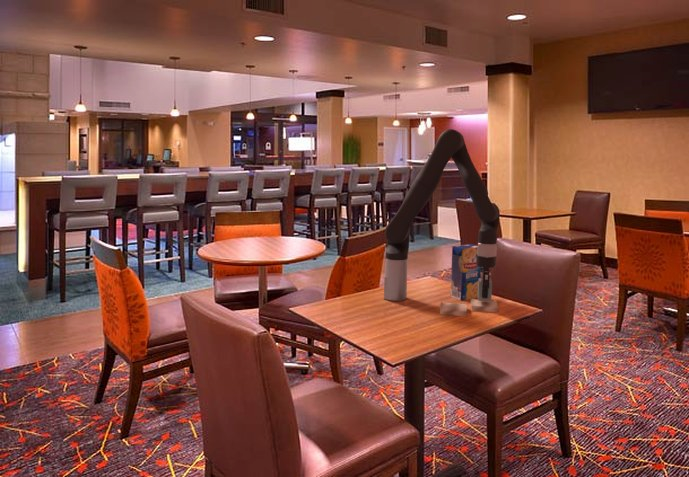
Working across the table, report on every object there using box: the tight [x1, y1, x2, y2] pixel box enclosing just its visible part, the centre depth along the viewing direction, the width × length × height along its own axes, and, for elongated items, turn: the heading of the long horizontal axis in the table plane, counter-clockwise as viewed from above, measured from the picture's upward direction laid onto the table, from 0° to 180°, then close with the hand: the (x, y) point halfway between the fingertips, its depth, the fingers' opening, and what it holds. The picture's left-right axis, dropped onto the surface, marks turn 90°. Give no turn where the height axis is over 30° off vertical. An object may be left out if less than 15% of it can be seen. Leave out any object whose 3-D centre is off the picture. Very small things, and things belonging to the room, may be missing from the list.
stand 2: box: [470, 298, 499, 313], centre depth 219 cm, size 10×10×2 cm
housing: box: [477, 278, 493, 302], centre depth 218 cm, size 5×5×8 cm
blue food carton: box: [449, 243, 482, 301], centre depth 233 cm, size 7×11×22 cm, turn 121°
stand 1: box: [439, 301, 468, 317], centre depth 214 cm, size 10×10×2 cm
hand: (484, 295), depth 218 cm, fingers closed on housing, 5 cm apart
